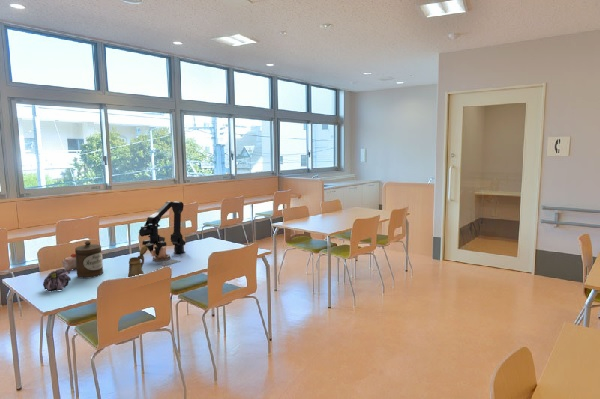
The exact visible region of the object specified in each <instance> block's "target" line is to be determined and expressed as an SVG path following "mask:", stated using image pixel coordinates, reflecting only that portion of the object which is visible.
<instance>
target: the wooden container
mask: <svg viewBox="0 0 600 399" xmlns="http://www.w3.org/2000/svg"><path fill="white" fill-rule="evenodd" d="M75 254H76V268H77V269H76V276H78V277H77V278H79V277H83V278H82V279H85V278H84V277H91V278H95V277H94V276H96V277H99V276H101V275H102V274H103V273H104V268H103V265H104V264H103V256H102V245H101V244H94V243H92V244H91V241H90V240H86V241H85V242H84V245H80V246H77V247H75ZM98 275H99V276H98Z"/></svg>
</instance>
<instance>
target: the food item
mask: <svg viewBox="0 0 600 399" xmlns="http://www.w3.org/2000/svg"><path fill="white" fill-rule="evenodd" d="M62 267H63V269H66V270H69V271H73V270H77V268H76V253H72V254H70V256H68V257H65V258H64V259H63V260H62ZM72 269H73V270H72Z"/></svg>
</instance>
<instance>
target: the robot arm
mask: <svg viewBox="0 0 600 399" xmlns="http://www.w3.org/2000/svg"><path fill="white" fill-rule="evenodd" d="M170 209H172V212H173V232H172V233H171V234H170V238H169V239H170V242H171V244H172V245H173V246H174V247H173V250H174V252H173V254H176V255H179V254H180V255H181V254H184V253H186V251H185V247H184V246H185V245H186V241H185V239H183V234H182V232H181V231H182V230H181V228H182V226H181V224H182V212H183V211H184V203H183V202H182V201H176V200H175V201H169V200H168V201H166V202H165V203H164V204H163V205H162V206H161V207H160V208H159V209H158V210H157V211H156V212H154V213H153V214H151V215H149V216H147V218H146V221H145V223H144V226H140V229H139V231H138V234H139V236H140V237H148V238H149V239H145V240H142V242H141V243H142V246H145V245H147V250H148V251H149V253H150V254H151V251H152V250H155V252H156V255H157V256H158V255H159V251H160V249H161V247H164V246H166V247H167V242H166V237H163V236H161V235H160V234H159V227H161V225H160V224H159V223H160V221H161V219H162V217H163V216H164V215H165V214H166V213H167V212H168V211H169V210H170Z"/></svg>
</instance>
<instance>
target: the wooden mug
mask: <svg viewBox="0 0 600 399" xmlns="http://www.w3.org/2000/svg"><path fill="white" fill-rule="evenodd" d="M147 250H148V248H147V245H142V247H141V249H140V250H139V255H138V256H137V257H135V256H134V257H130V258H129V260H128V264H129V265H128V266H129V267H128V273H127V276H128V277H129V278H131V277H130V276H135V275H139V274H143V275H144V271H143V266H144V263H145V257H144V255H145V254H146V253H147Z"/></svg>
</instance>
